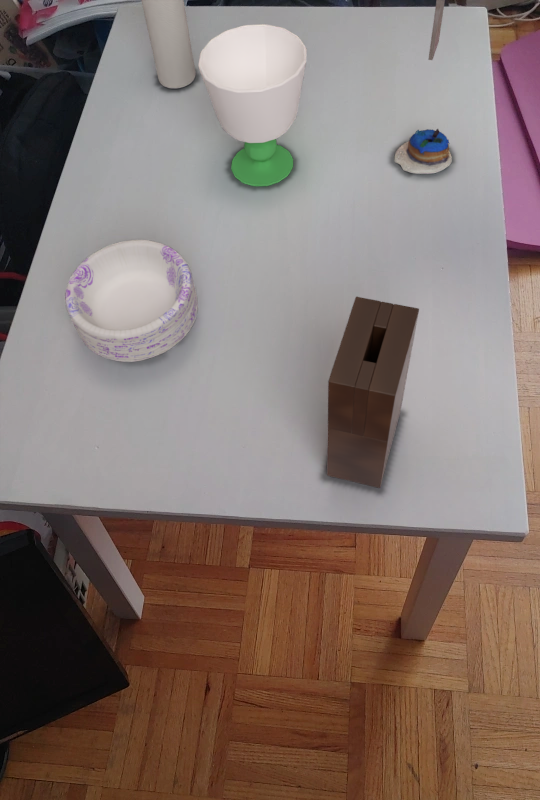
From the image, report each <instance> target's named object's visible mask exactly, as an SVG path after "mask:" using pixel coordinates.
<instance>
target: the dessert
mask: <svg viewBox="0 0 540 800" xmlns="http://www.w3.org/2000/svg"><path fill="white" fill-rule="evenodd" d="M450 149H451V147H450V142H449V139H448V137H447V136H446V135H445V133H443V132H442V131H440V130H439V128H437V129H436V130H435V129H422V130H419V129H417V130H416V131H415V133H413V134H412V135H411V136H410V137H409V139H408V141H406V142H404V143H403V144H402V145H400V146H399V147H398V148H397V150H396V151H395V154H394V158H393V160H394V163H396V164H398V165H400V166H401V168H402V170H403V171H405V172H407V173H411V174H416V175H420V174H421V175H422V174H428V175H429V174H435V173H439V172H441V171H444V170H445V169H446V168H448V167H449V166H450V165H452V161H453V157H452V154H451V152H450Z"/></svg>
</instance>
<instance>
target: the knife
mask: <svg viewBox="0 0 540 800" xmlns="http://www.w3.org/2000/svg"><path fill="white" fill-rule="evenodd" d="M445 2H446V0H436V1H435V9H434V10H435V11H434V15H433V16H434V17H433V23H432V30H431V37H430V43H429V44H430V45H429V52H428V59H427V60H428V61H433V60H434V57H435V54H436V52H437V49H438V46H439V43H440V36H441V29H442V23H443V16H444V9H445Z"/></svg>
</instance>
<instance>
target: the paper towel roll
mask: <svg viewBox="0 0 540 800" xmlns="http://www.w3.org/2000/svg"><path fill="white" fill-rule="evenodd" d="M140 1H141V5H142V10H143V15H144V19H145V23H146V29H147V34H148V38H149V42H150V47H151V51H152V56H153V61H154V65H155V70H156V74H157V79H158V82H159V83H160V84H161V85H162V86H163V87H164V88H168V89H181V88H184V87H186V86H189V85H191V84H192V82H194V80H195V78H196V74H197V72H196V67H195V61H194V55H193V48H192V43H191V37H190V30H189V24H188V18H187V12H186V7H185V0H140Z"/></svg>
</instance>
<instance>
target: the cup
mask: <svg viewBox="0 0 540 800" xmlns="http://www.w3.org/2000/svg"><path fill="white" fill-rule="evenodd" d="M307 53H308V49H307V47H306V45H305V44H304V42H303V41H302V39H301V38H300V36H298V35H297V34H295V33H293V32H292V31H290V30H288V29H287V28H285V27H280V26H277V25H271V24H267V23H263V24H262V23H261V24H260V23H259V24H244V25H241V26H237V27H233V28H230V29H226V30H224V31H222V32H221V33H220V34H218V35H216V36H214V37H213V38H211V39H209V41H208V42H207V43H206V45H205V46H204V47H203V48H202V50H201V51H200V53H199V57H198V69H199V72H200V75H201V78H202V81H203V84H204V86H205V88H206V91H207V93H208V96H209V99H210V101H211V104H212V107H213V110H214V113H215V115H216V118H217V120H218V122H219V125H220V126H221V128H222V130H223V131H224V132H225V133H226V134H227V135H229V136H231V138H233V139H234V140H236V141H240V142H243V143H244V144H243V148H242V149H240V150H239V151H238V152H236V154H235V155H234V157H233V158H232V160H231V167H230V170H231V172H232V174H233V176H234V178H235V179H237V180H238V181H239V182H240V183H242V184H244V185H248V186H251V187H269V186H271V185H275V184H279V183H280V182H281V181H283V180H284V179H286V178H287V177H288V176H289V175H290V173H291V172H292V170H293V169H294V158H293V156H292V154H291V152H290V151H289V150H288V149H286V148H285V147H283V146H281V145H280V144H277V139H278V138H280V137H281V136H283V135H284V134H286V133H287V132H288V131H289V129H290V128H291V126H292V124H294V121H296V119H297V116H298V111H299V106H300V99H301V95H302V89H303V83H304V79H305V78H304V77H305V72H306V67H307Z"/></svg>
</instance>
